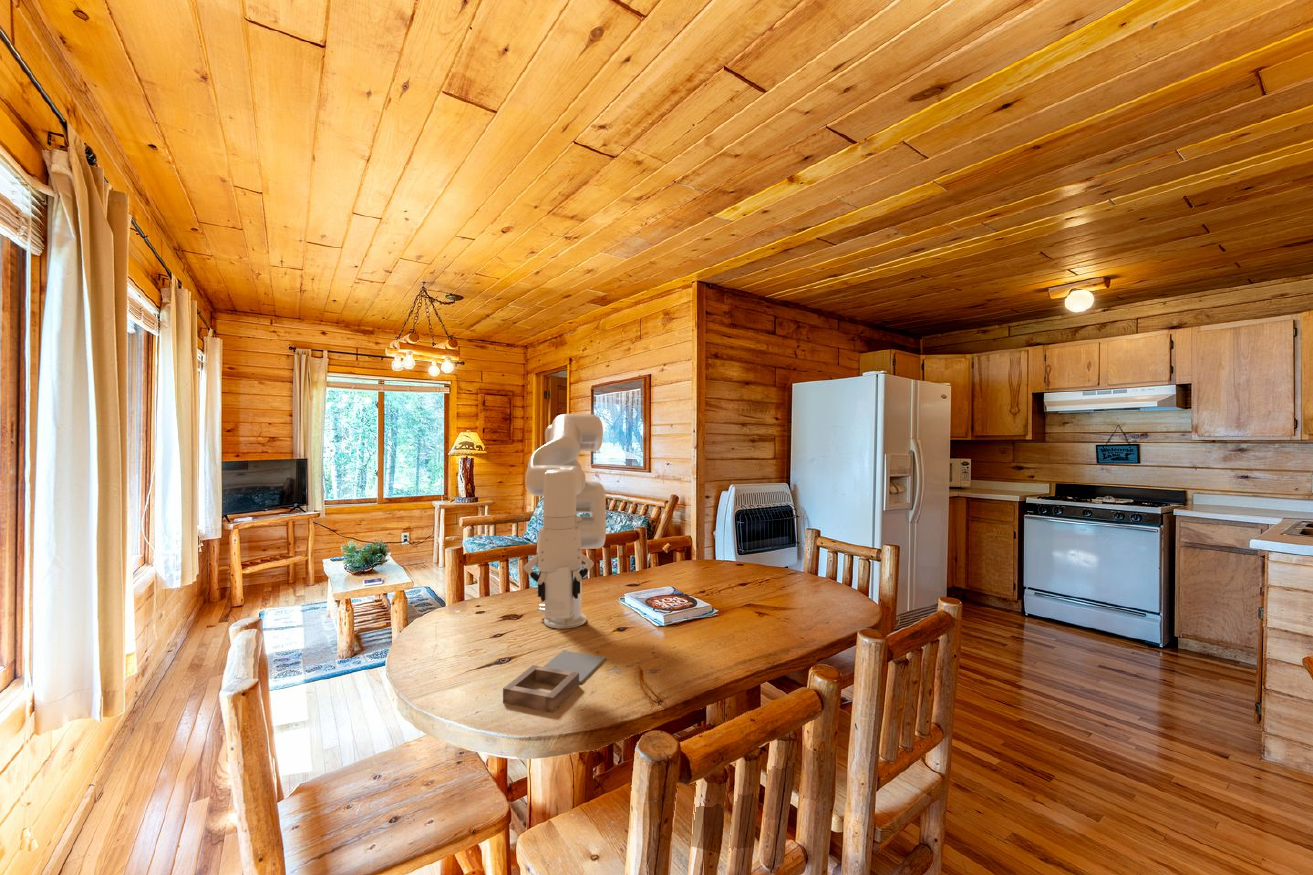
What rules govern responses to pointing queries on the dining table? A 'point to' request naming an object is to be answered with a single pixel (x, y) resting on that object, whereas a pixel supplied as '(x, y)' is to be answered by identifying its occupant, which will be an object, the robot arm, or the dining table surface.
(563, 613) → the skincare box
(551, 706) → the square box holder
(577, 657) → the rubber mat
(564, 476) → the robot arm
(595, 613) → the dining table surface
